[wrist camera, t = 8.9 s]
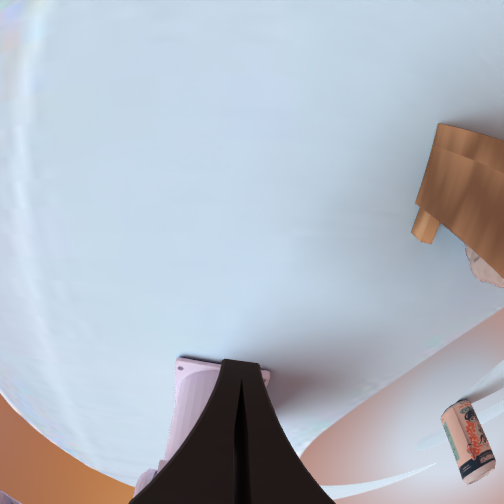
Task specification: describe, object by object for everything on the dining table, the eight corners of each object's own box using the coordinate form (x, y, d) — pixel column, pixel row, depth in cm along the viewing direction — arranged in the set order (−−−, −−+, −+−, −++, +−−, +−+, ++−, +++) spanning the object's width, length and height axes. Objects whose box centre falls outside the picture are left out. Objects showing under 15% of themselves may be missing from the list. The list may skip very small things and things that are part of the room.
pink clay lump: (467, 163, 16) (537, 197, 10) (512, 209, 17) (569, 248, 11) (426, 236, 18) (481, 294, 12) (476, 270, 20) (523, 321, 13)
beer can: (473, 399, 29) (502, 464, 19) (449, 419, 31) (473, 483, 21) (459, 396, 28) (490, 468, 18) (433, 417, 30) (458, 488, 20)
